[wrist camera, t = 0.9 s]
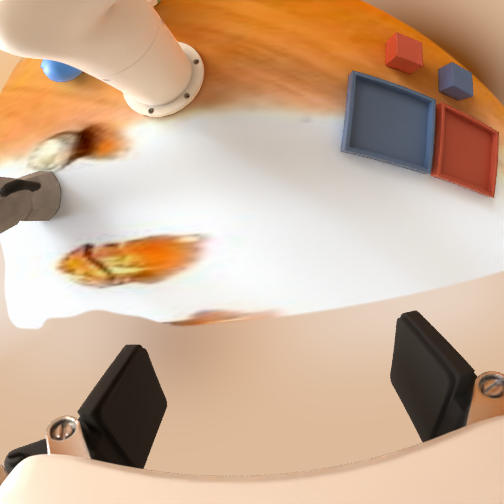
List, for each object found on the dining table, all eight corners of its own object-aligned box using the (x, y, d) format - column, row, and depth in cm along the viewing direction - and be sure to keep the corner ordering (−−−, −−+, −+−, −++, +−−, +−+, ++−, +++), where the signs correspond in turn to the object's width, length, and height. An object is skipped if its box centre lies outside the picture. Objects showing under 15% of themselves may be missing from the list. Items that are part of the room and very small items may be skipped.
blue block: (438, 91, 33) (453, 85, 29) (438, 69, 32) (451, 61, 28) (458, 100, 33) (473, 96, 29) (457, 79, 32) (472, 73, 28)
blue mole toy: (109, 19, 32) (86, -1, 24) (109, 70, 35) (81, 54, 26) (56, 46, 33) (30, 33, 24) (54, 97, 35) (24, 89, 27)
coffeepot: (29, 230, 42) (-40, 255, 24) (19, 184, 40) (-51, 195, 22) (84, 205, 40) (5, 224, 23) (73, 151, 38) (-7, 148, 21)
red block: (385, 65, 33) (396, 55, 29) (385, 43, 32) (396, 32, 28) (410, 74, 33) (423, 66, 29) (409, 52, 32) (422, 42, 28)
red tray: (430, 175, 37) (437, 175, 35) (436, 104, 34) (442, 102, 32) (487, 196, 37) (494, 197, 35) (492, 132, 34) (498, 132, 32)
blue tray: (340, 151, 37) (344, 150, 35) (348, 74, 34) (352, 70, 32) (424, 173, 37) (430, 173, 35) (429, 102, 34) (435, 99, 32)
